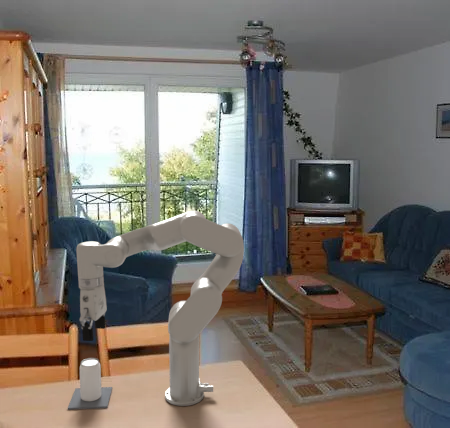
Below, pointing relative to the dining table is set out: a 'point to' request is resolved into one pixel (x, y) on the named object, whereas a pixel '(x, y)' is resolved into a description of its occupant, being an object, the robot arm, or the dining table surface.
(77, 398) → the mat
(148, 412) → the dining table surface
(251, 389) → the dining table surface
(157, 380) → the dining table surface
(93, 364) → the can
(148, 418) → the dining table surface
